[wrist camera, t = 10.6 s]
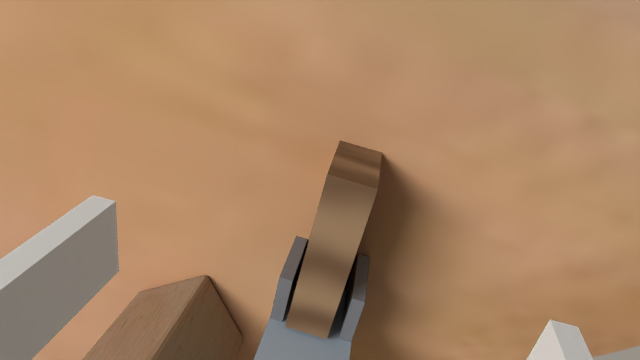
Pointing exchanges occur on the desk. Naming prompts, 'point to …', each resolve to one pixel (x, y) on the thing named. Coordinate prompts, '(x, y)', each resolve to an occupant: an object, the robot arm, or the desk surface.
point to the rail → (335, 238)
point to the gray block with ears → (302, 348)
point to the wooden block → (172, 326)
